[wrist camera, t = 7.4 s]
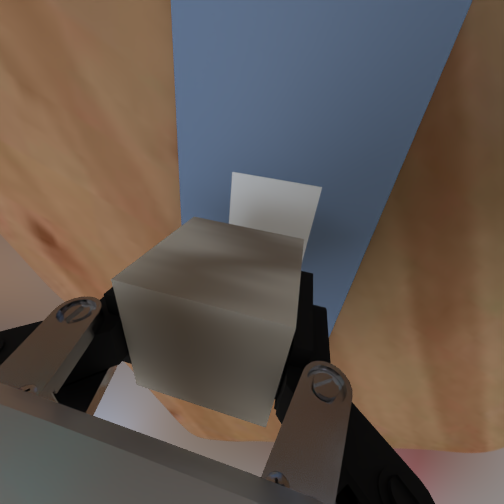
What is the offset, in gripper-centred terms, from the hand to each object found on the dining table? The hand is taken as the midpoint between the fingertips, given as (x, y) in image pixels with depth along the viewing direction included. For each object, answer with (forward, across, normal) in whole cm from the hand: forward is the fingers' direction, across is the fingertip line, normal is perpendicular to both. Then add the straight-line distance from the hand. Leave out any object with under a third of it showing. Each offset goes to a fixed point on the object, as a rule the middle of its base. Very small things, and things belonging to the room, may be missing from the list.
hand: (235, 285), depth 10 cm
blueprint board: (+8, 0, 0) cm, 8 cm away
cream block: (+1, 0, 0) cm, 1 cm away
